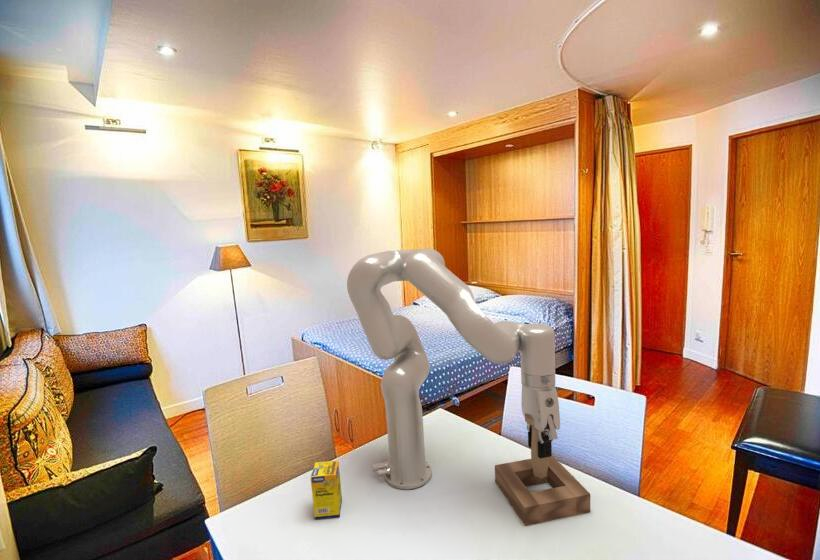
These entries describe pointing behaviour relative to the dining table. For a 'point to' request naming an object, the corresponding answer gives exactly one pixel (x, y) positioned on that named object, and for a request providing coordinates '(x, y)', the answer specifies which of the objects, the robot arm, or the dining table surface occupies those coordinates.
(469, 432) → the dining table surface
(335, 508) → the supplement box
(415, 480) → the robot arm
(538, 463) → the handle
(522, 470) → the socket block
